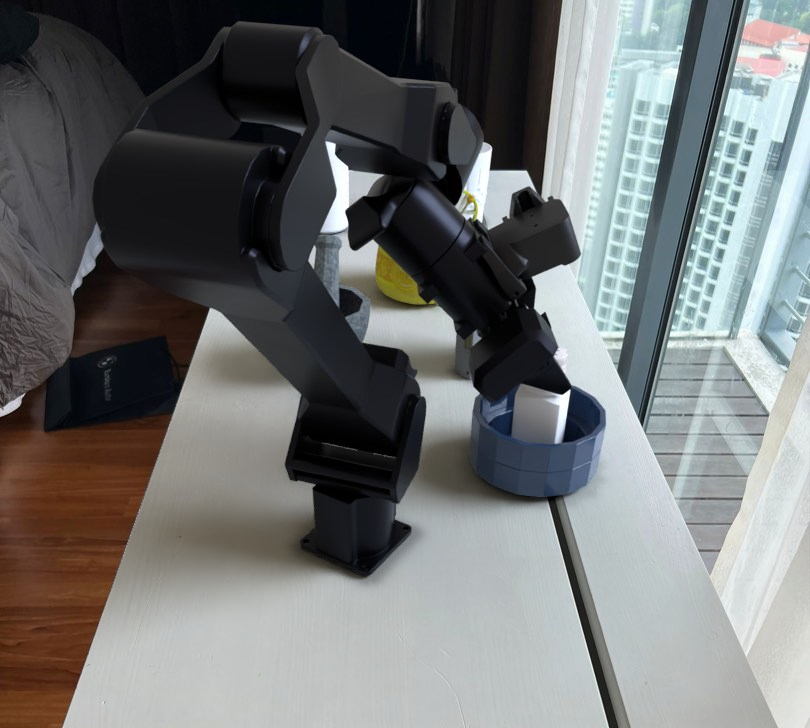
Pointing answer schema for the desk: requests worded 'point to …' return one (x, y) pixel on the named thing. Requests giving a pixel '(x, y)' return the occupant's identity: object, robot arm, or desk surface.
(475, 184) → the white cup
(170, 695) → the desk surface
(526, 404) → the pepper shaker
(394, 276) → the mug
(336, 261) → the mortar and pestle
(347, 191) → the can
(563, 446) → the bowl
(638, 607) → the desk surface
